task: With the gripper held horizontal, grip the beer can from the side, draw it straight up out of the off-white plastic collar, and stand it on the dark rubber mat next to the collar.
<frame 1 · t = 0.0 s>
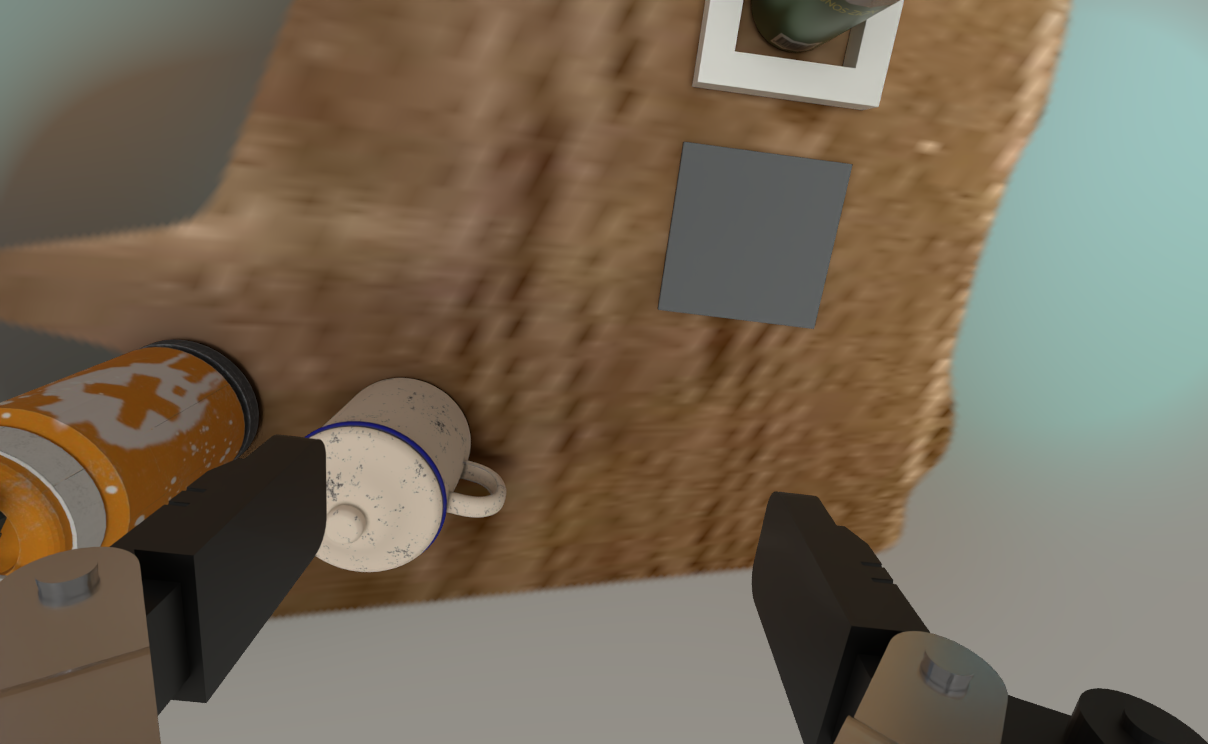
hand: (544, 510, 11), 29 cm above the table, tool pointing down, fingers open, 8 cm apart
canister: (191, 412, 42), on the table
teacup with lid: (430, 439, 43), on the table
mat: (750, 238, 39), on the table
beer can: (795, 1, 35), resting in collar
collar: (796, 0, 35), on the table
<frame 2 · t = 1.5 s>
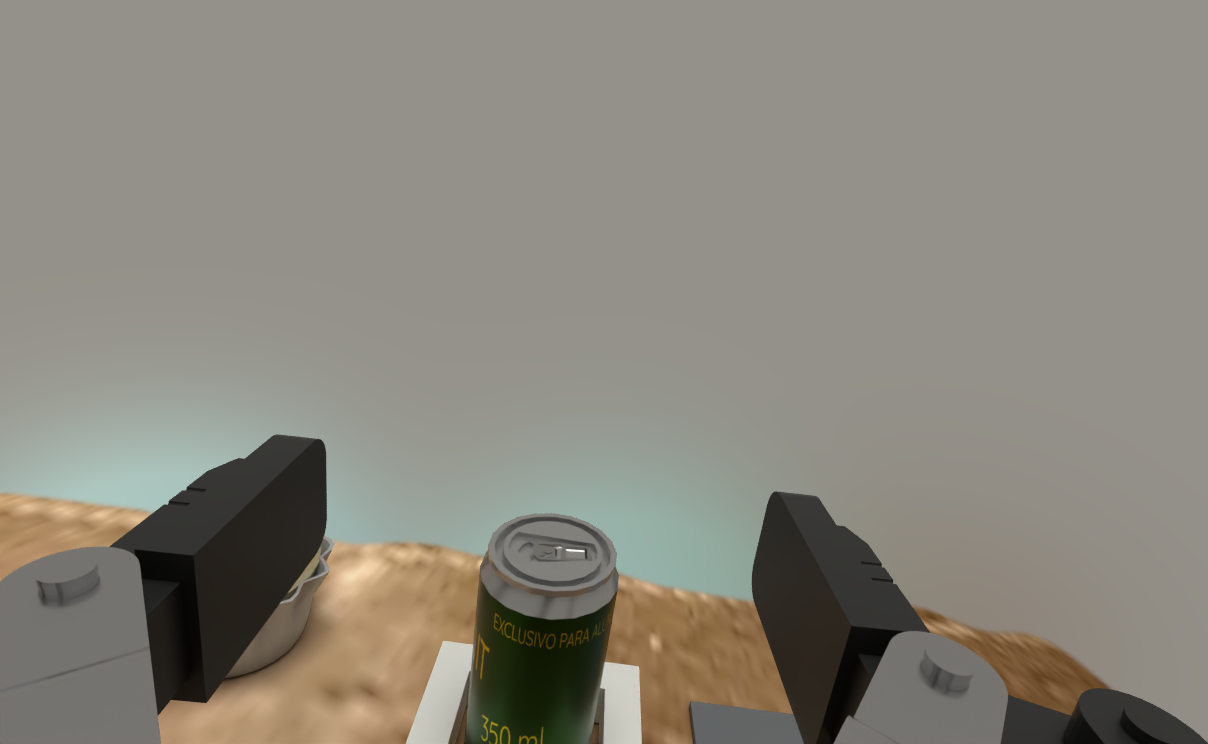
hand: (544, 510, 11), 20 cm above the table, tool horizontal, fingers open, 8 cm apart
cupcake: (239, 636, 33), on the table
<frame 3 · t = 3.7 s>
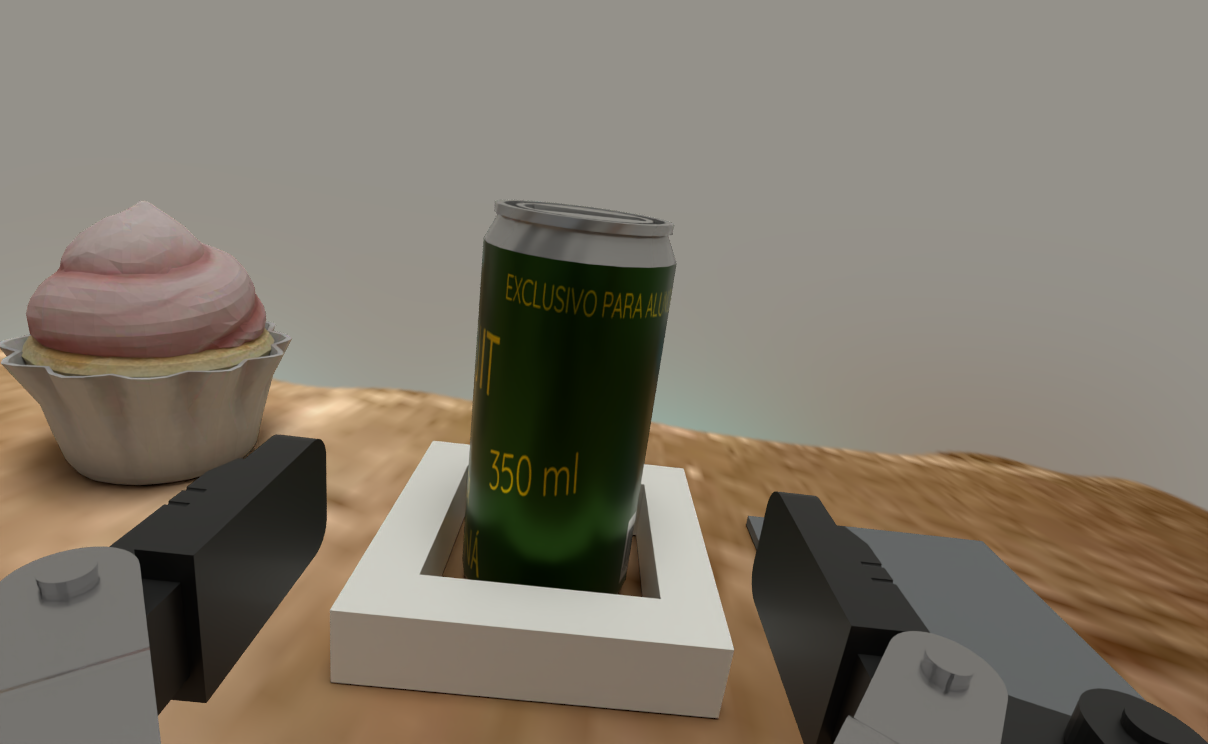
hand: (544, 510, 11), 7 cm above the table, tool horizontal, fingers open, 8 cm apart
mat: (922, 618, 22), on the table
beer can: (542, 585, 21), resting in collar
cupcake: (169, 454, 26), on the table
collar: (543, 579, 21), on the table
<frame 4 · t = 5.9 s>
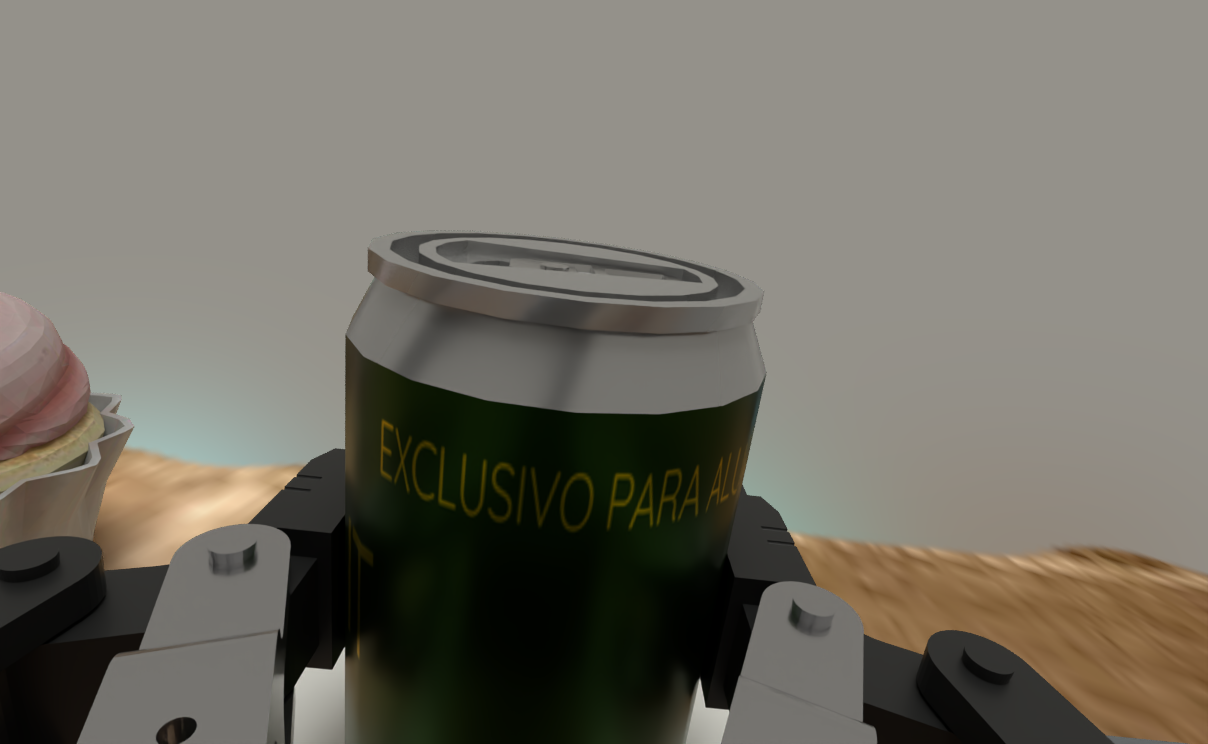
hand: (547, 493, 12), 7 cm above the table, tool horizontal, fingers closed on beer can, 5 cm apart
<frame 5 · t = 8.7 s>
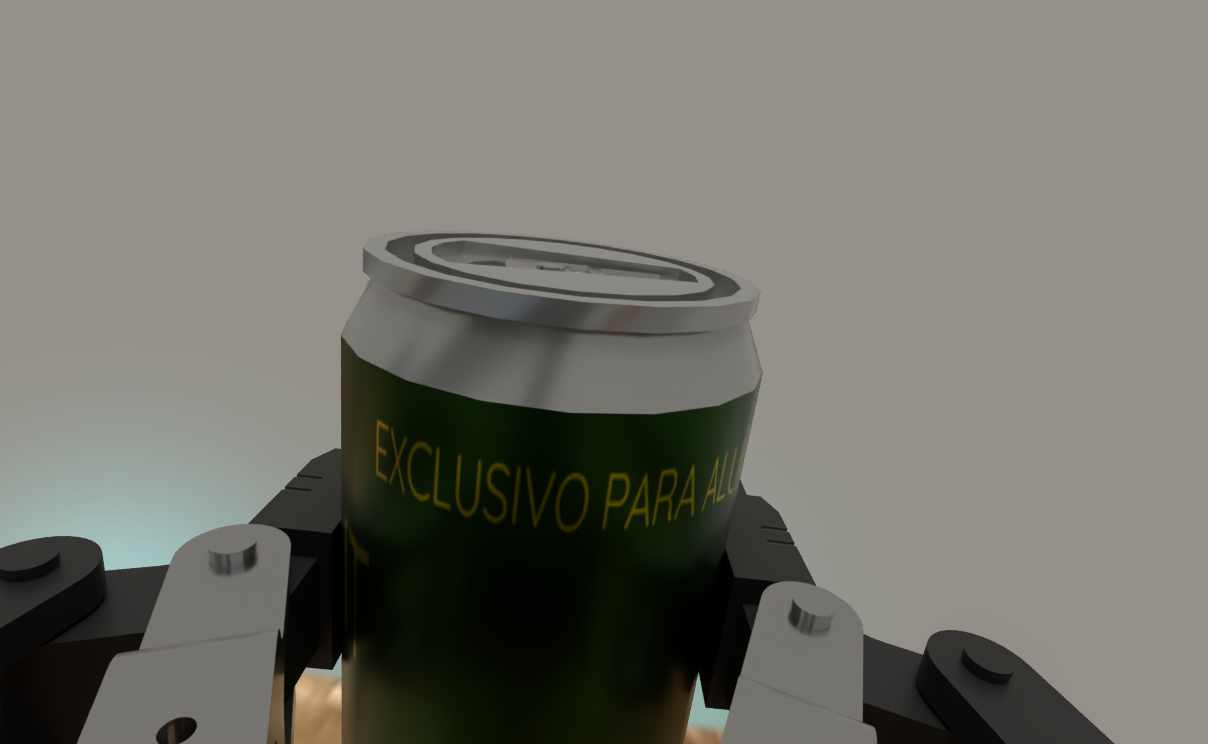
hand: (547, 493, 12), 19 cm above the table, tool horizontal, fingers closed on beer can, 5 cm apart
when the fingers open (8 cm above the table, at t = 11.7 s): beer can stays where it is, resting on mat.
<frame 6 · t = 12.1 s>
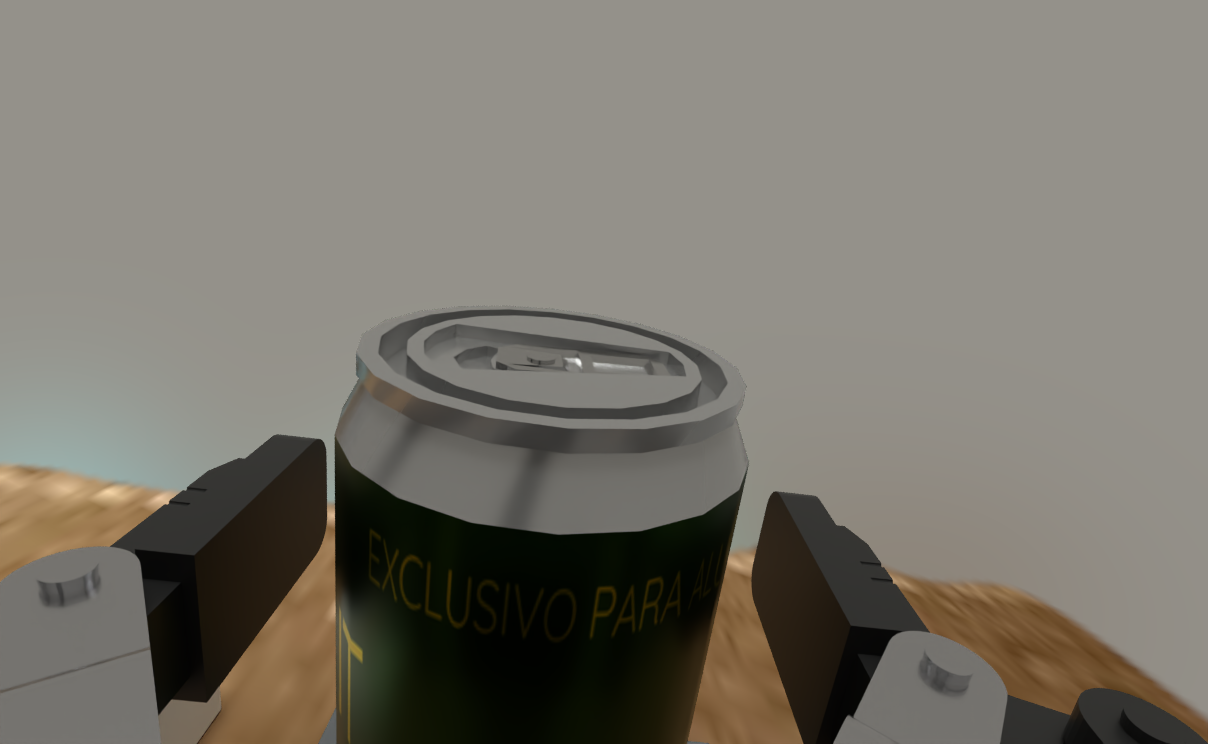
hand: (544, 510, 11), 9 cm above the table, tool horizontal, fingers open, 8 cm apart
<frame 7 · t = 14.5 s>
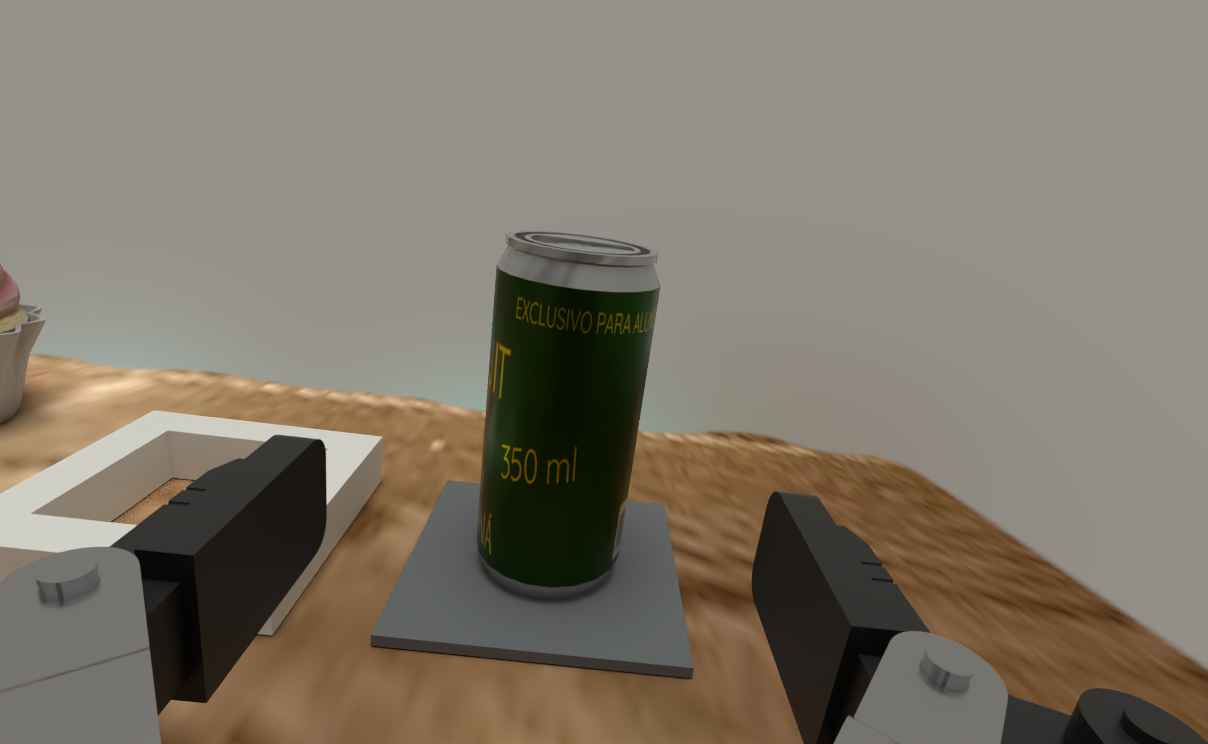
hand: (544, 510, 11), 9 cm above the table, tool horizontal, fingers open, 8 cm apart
mat: (546, 565, 24), on the table
beer can: (546, 563, 24), resting on mat
collar: (204, 528, 24), on the table
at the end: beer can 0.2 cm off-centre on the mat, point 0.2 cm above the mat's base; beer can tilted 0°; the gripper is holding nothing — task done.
